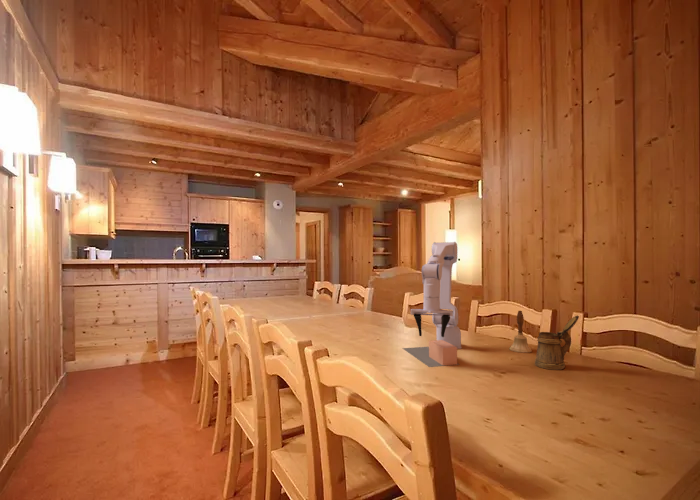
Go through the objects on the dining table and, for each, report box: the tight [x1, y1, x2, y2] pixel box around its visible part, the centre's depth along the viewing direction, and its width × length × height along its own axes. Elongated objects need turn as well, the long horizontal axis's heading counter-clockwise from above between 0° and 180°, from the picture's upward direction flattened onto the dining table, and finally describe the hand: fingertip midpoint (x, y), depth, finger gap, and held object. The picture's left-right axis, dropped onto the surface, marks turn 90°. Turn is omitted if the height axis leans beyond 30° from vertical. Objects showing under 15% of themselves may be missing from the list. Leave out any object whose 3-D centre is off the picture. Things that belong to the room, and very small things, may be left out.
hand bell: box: [509, 310, 533, 354], centre depth 144 cm, size 8×8×16 cm
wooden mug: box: [534, 315, 580, 371], centre depth 121 cm, size 9×14×18 cm, turn 68°
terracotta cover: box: [428, 339, 458, 366], centre depth 127 cm, size 5×11×6 cm, turn 12°
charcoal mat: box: [402, 346, 461, 368], centre depth 133 cm, size 12×26×1 cm, turn 12°
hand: (431, 336), depth 125 cm, fingers open, 7 cm apart
